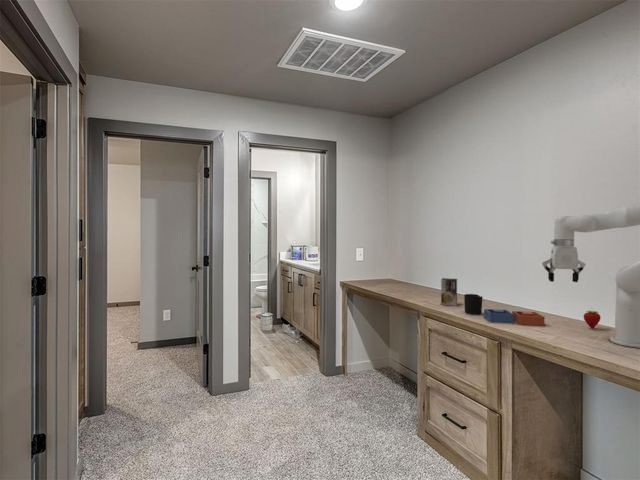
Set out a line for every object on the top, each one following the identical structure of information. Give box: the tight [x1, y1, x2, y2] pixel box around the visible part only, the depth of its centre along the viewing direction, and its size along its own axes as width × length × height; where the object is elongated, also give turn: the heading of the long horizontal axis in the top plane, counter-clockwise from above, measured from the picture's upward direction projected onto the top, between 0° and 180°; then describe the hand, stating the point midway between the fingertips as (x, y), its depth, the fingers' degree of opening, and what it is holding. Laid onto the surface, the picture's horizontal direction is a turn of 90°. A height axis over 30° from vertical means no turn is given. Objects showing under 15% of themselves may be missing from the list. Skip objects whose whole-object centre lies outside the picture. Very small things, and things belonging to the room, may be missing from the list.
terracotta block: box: [522, 311, 535, 316], centre depth 186 cm, size 4×4×4 cm
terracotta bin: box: [511, 310, 546, 327], centre depth 187 cm, size 11×11×4 cm
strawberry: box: [583, 307, 601, 329], centre depth 176 cm, size 6×8×10 cm
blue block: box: [493, 309, 505, 314], centre depth 192 cm, size 4×4×4 cm
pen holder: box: [463, 293, 483, 316], centre depth 208 cm, size 9×9×10 cm
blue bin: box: [483, 308, 515, 324], centre depth 192 cm, size 11×11×4 cm
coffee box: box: [440, 277, 458, 307], centre depth 232 cm, size 9×6×16 cm
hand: (563, 281), depth 167 cm, fingers open, 9 cm apart
